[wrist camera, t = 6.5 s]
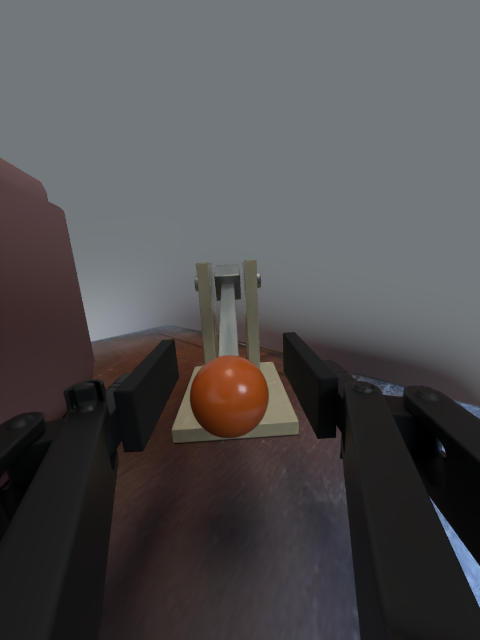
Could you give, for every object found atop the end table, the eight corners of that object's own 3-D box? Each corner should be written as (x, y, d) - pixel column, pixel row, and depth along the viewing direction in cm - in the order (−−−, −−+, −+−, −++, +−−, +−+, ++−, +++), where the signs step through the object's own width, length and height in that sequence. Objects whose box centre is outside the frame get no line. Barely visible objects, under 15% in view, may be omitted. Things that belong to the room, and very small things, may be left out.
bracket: (298, 434, 19) (299, 255, 16) (173, 443, 18) (148, 263, 15) (272, 370, 30) (270, 261, 27) (196, 375, 30) (184, 265, 27)
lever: (273, 452, 10) (277, 398, 8) (191, 458, 10) (176, 405, 8) (246, 291, 24) (245, 257, 22) (211, 293, 24) (207, 259, 22)
